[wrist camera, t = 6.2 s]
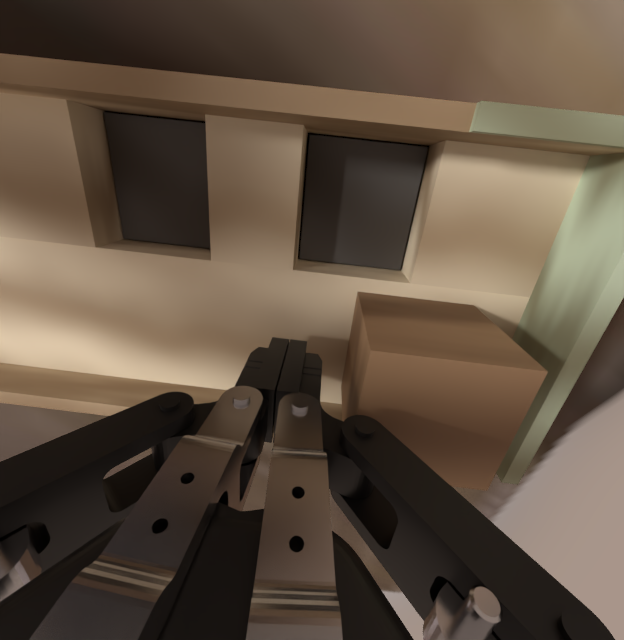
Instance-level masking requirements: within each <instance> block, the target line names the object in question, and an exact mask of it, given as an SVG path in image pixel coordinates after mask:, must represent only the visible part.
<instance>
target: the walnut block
mask: <svg viewBox="0 0 624 640" xmlns="http://www.w3.org/2000/svg"><path fill="white" fill-rule="evenodd" d="M547 373H548V371H547V370H546V369H545V368H543V367H542V366H541V365H540V364H539V363H538V362H537V361H536V360H534V359H533V358H532V357H531V356H530V355H529V354H528V353H527V352H526V351H524V350H523V349H522V348H521V347H520V346H519V345H518V344H517V343H515V342H514V341H513V340H512V339H511V338H510V337H509V336H508V335H507V334H505V333H504V332H503V331H502V330H501V329H500V328H499V327H498V326H497V325H495V324H494V323H493V322H492V321H491V320H490V319H489V318H488V317H486V316H485V315H484V314H483V313H482V312H481V311H480V310H479V309H478V308H476V307H475V306H474V305H468V304H459V303H451V302H442V301H434V300H426V299H417V298H409V297H400V296H392V295H383V294H375V293H366V292H357V298H356V303H355V309H354V315H353V321H352V326H351V332H350V338H349V343H348V349H347V355H346V360H345V366H344V372H343V378H342V383H341V396H342V421H344V420H345V419H347V418H348V417H350V416H353V415H365V416H369V417H371V418H373V419H375V420H377V421H378V422H380V423H381V424H382V425H383V426H384V427H385V428H386V429H387V430H389V431H390V432H391V433H392V434H393V435H394V436H395V437H396V438H398V439H399V440H400V441H401V442H402V443H403V444H404V445H405V446H407V447H408V448H409V449H410V450H411V451H412V452H413V453H414V454H416V455H417V456H418V457H419V458H420V459H421V460H422V461H423V462H424V463H426V464H427V465H428V466H429V467H430V468H431V469H432V470H433V471H435V472H436V473H437V474H438V475H439V476H440V477H441V478H442V479H444V480H445V481H446V482H447V483H448V484H449V485H450V486H454V487H462V488H470V489H478V490H486V491H487V490H488V488H489V486H490V484H491V482H492V480H493V478H494V476H495V474H496V472H497V470H498V468H499V466H500V464H501V462H502V460H503V459H504V457H505V455H506V453H507V451H508V449H509V447H510V445H511V443H512V441H513V439H514V437H515V435H516V433H517V431H518V429H519V427H520V425H521V424H522V422H523V420H524V418H525V416H526V414H527V412H528V410H529V408H530V406H531V404H532V402H533V400H534V398H535V396H536V394H537V392H538V390H539V389H540V387H541V385H542V383H543V381H544V379H545V377H546V375H547Z"/></svg>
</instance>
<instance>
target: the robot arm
mask: <svg viewBox="0 0 624 640" xmlns="http://www.w3.org/2000/svg"><path fill="white" fill-rule="evenodd" d="M306 348H307V341H302V340H293V339H290V343H289V339H285V338H276V337H272V339H271V342H270V344H269V347H268V348H264V347H258V348H256V349H255V350H254V351H252V352H251V353H250V355H249V357H248V359H247V361H246V364H245V366H244V368H243V370H242V372H241V374H240V376H239V378H238V380H237V382H236V384H235V387H232V388H230V389H228V390H226V391H225V392H224V393H223V394H222V395H221V397H220V398H219V400H218V401H215V402H210V403H202V404H194V400H193V398H192V397H191V396H190V395H189V394H187V393H184V392H167V393H164V394H161V395H158V396H156V397H154V398H151V399H149V400H146V401H144V402H142V403H139V404H137V405H135V406H132V407H130V408H127V409H125V410H123V411H120V412H118V413H116V414H113V415H111V416H108V417H106V418H104V419H101V420H99V421H96V422H94V423H92V424H89V425H87V426H85V427H82V428H80V429H77V430H75V431H73V432H70V433H68V434H66V435H63V436H61V437H58V438H56V439H54V440H51V441H49V442H47V443H44V444H42V445H39V446H37V447H35V448H32V449H30V450H28V451H25V452H23V453H20V454H18V455H16V456H13V457H11V458H9V459H6V460H4V461H1V462H0V640H413V638H412V636H411V635H410V633H409V632H408V630H407V629H406V628H405V626H404V624H403V623H402V621H401V620H400V618H399V617H398V615H397V614H396V612H395V611H394V609H393V608H392V606H391V604H390V603H389V601H388V600H387V598H386V597H385V595H384V594H383V592H382V591H381V589H380V588H379V586H378V585H377V583H376V582H375V580H374V579H373V577H372V576H371V574H370V572H369V571H368V569H367V568H366V566H365V565H364V563H363V562H362V560H361V559H360V558H359V556H358V555H357V553H356V552H355V551H354V550H353V549H352V548H351V546H350V545H349V544H348V543H347V542H345V541H344V540H343V539H342V538H341V537H340V536H338V535H337V534H336V533H334V532H333V531H332V523H331V508H330V494H329V489H330V490H331V495H332V497H333V499H334V501H335V502H336V503H337V505H338V506H339V507H340V509H341V510H342V511H343V513H344V514H345V516H346V517H347V518H348V520H349V521H350V522H351V524H352V525H353V526H354V528H355V529H356V530H357V532H358V533H359V534H360V536H361V537H362V538H363V540H364V541H365V542H366V544H367V545H368V546H369V548H370V549H371V550H372V552H373V553H374V555H375V556H376V557H377V559H378V560H379V561H380V563H381V564H382V565H383V567H384V568H385V569H386V571H387V572H388V573H389V575H390V576H391V577H392V579H393V580H394V581H395V583H396V584H397V585H398V587H399V588H400V589H401V591H402V592H403V594H404V595H405V596H406V598H407V599H408V600H409V602H410V603H411V604H412V606H413V607H414V608H415V610H416V611H417V612H418V614H419V615H420V616H421V618H422V619H423V620H424V625H423V640H615V639H614V638H613V636H612V634H611V633H610V632H609V630H608V629H607V628H606V626H605V625H604V624H603V623H602V622H601V621H600V619H599V618H598V617H597V616H596V615H595V614H594V613H592V611H591V610H589V609H588V608H587V607H586V606H585V605H584V604H583V603H582V602H580V601H579V600H578V599H577V598H576V597H575V596H574V595H573V594H572V593H570V592H569V591H568V590H567V589H566V588H565V587H564V586H562V585H561V584H560V583H559V582H558V581H557V580H556V579H555V578H554V577H552V576H551V575H550V574H549V573H548V572H547V571H546V570H545V569H543V568H542V567H541V566H540V565H539V564H538V563H537V562H536V561H534V560H533V559H532V558H531V557H530V556H529V555H528V554H527V553H525V552H524V551H523V550H522V549H521V548H520V547H519V546H518V545H517V544H515V543H514V542H513V541H512V540H511V539H510V538H509V537H508V536H506V535H505V534H504V533H503V532H502V531H501V530H500V529H498V528H497V527H496V526H495V525H494V524H493V523H492V522H491V521H490V520H488V519H487V518H486V517H485V516H484V515H483V514H482V513H481V512H479V511H478V510H477V509H476V508H475V507H474V506H473V505H472V504H471V503H469V502H468V501H467V500H466V499H465V498H464V497H463V496H462V495H460V494H459V493H458V492H457V491H456V490H455V489H454V488H453V487H451V486H450V485H449V484H448V483H447V482H446V481H445V480H444V479H442V478H441V477H440V476H439V475H438V474H437V473H436V472H435V471H433V470H432V469H431V468H430V467H429V466H428V465H427V464H426V463H424V462H423V461H422V460H421V459H420V458H419V457H418V456H417V455H416V454H414V453H413V452H412V451H411V450H410V449H409V448H408V447H407V446H405V445H404V444H403V443H402V442H401V441H400V440H399V439H398V438H396V437H395V436H394V435H393V434H392V433H391V432H390V431H389V430H387V429H386V428H385V427H384V426H383V425H382V424H381V423H380V422H378V421H377V420H375V419H373V418H371V417H369V416H365V415H353V416H350V417H348V418H347V419H345V420H344V421H341V420H339V419H336V418H334V417H332V416H330V415H329V414H327V413H326V412H325V411H324V409H323V408H322V406H321V404H320V393H321V376H322V360H321V358H320V357H319V355H318V354H314V353H306ZM273 434H274V438H273ZM272 438H273V443H274V446H273V449H272V454H271V461H270V469H269V476H268V484H267V491H266V499H265V506H264V509H260V510H252V511H242V510H243V507H244V504H245V501H246V498H247V496H248V493H249V490H250V487H251V484H252V481H253V479H254V476H255V473H256V470H257V467H258V465H259V462H260V454H261V452H262V448H263V445H264V442H272ZM149 448H152V454H150V455H149V456H147V457H145V458H143V459H141V460H139V461H138V462H136V463H134V464H132V465H130V466H128V467H127V468H125V469H123V470H121V471H119V472H117V473H116V474H114V475H112V476H110V477H108V478H106V479H103V478H104V476H105V475H106V473H107V472H108V471H110V470H111V469H112V468H114V467H115V466H117V465H119V464H121V463H123V462H125V461H126V460H128V459H130V458H132V457H134V456H136V455H138V454H140V453H142V452H143V451H145V450H147V449H149Z"/></svg>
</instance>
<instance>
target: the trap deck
mask: <svg viewBox="0 0 624 640" xmlns="http://www.w3.org/2000/svg"><path fill="white" fill-rule="evenodd" d="M104 111H110V112H119V113H129V114H138V115H147V116H156V117H166V118H175V119H184V120H194V121H203V122H205V123H198V122H189V121H180V120H170V119H161V118H152V117H142V116H133V115H124V114H114V113H105V112H104ZM308 133H315V134H324V135H333V136H343V137H352V138H361V139H370V140H380V141H389V142H398V143H408V144H417V145H426V146H429V151H428V155H427V160H426V164H425V168H424V173H423V177H422V181H421V176H422V172H423V167H424V163H425V159H426V154H427V150H428V147H421V146H412V145H403V144H393V143H384V142H375V141H366V140H356V139H347V138H338V137H328V136H319V135H310V138H309V150H308V162H307V174H306V186H305V198H304V210H303V222H302V234H301V246H300V258H299V259H298V249H299V237H300V224H301V212H302V199H303V187H304V174H305V162H306V150H307V137H308ZM420 181H421V186H420V190H419V195H418V199H417V203H416V198H417V194H418V189H419V185H420ZM415 203H416V208H415V212H414V216H413V211H414V207H415ZM412 216H413V221H412V225H411V220H412ZM410 225H411V230H410V234H409V229H410ZM408 234H409V238H408ZM407 238H408V243H407V247H406V242H407ZM128 239H132V240H128ZM136 240H141V241H136ZM145 241H150V242H145ZM154 242H159V243H154ZM163 243H167V244H163ZM171 244H176V245H171ZM180 245H185V246H180ZM189 246H194V247H189ZM198 247H202V248H198ZM405 247H406V252H405V256H404V251H405ZM207 248H211V249H207ZM403 256H404V260H403ZM303 259H308V260H303ZM312 260H316V261H312ZM402 260H403V265H402V269H401V264H402ZM321 261H325V262H321ZM329 262H334V263H329ZM338 263H343V264H338ZM347 264H352V265H347ZM356 265H360V266H356ZM364 266H369V267H364ZM373 267H378V268H373ZM382 268H387V269H382ZM391 269H395V270H391ZM400 269H401V271H400ZM357 292H366V293H375V294H383V295H392V296H400V297H409V298H417V299H426V300H434V301H442V302H451V303H459V304H468V305H474V306H475V307H476V308H478V309H479V310H480V311H481V312H482V313H483V314H484V315H485V316H486V317H488V318H489V319H490V320H491V321H492V322H493V323H494V324H495V325H497V326H498V327H499V328H500V329H501V330H502V331H503V332H504V333H505V334H507V335H508V336H509V337H510V338H511V339H512V340H513V341H514V342H515V343H517V344H518V345H519V346H520V347H521V348H522V349H523V350H524V351H526V352H527V353H528V354H529V355H530V356H531V357H532V358H533V359H534V360H536V361H537V362H538V363H539V364H540V365H541V366H542V367H543V368H545V369H546V370H547V371H548V373H547V375H546V377H545V379H544V381H543V383H542V385H541V387H540V389H539V390H538V392H537V394H536V396H535V398H534V400H533V402H532V404H531V406H530V408H529V410H528V412H527V414H526V416H525V418H524V420H523V422H522V424H521V425H520V427H519V429H518V431H517V433H516V435H515V437H514V439H513V441H512V443H511V445H510V447H509V449H508V451H507V453H506V455H505V457H504V459H503V460H502V462H501V464H500V466H499V468H498V470H497V472H496V473H497V475H498V477H499V479H500V480H501V482H502V483H510V484H518V483H519V482H520V480H521V478H522V476H523V475H524V473H525V471H526V469H527V468H528V466H529V464H530V462H531V460H532V459H533V457H534V455H535V453H536V452H537V450H538V448H539V446H540V445H541V443H542V441H543V439H544V437H545V436H546V434H547V432H548V430H549V429H550V427H551V425H552V423H553V422H554V420H555V418H556V416H557V414H558V413H559V411H560V409H561V407H562V406H563V404H564V402H565V400H566V399H567V397H568V395H569V393H570V391H571V390H572V388H573V386H574V384H575V383H576V381H577V379H578V377H579V376H580V374H581V372H582V370H583V369H584V367H585V365H586V363H587V361H588V360H589V358H590V356H591V354H592V353H593V351H594V349H595V347H596V346H597V344H598V342H599V340H600V338H601V337H602V335H603V333H604V331H605V330H606V328H607V326H608V324H609V323H610V321H611V319H612V317H613V315H614V314H615V312H616V310H617V308H618V307H619V305H620V303H621V301H622V300H623V298H624V116H621V115H612V114H602V113H593V112H583V111H574V110H564V109H555V108H545V107H535V106H526V105H516V104H507V103H497V102H488V101H480V102H478V103H469V102H460V101H450V100H440V99H431V98H421V97H412V96H402V95H393V94H383V93H374V92H364V91H355V90H345V89H336V88H326V87H317V86H307V85H298V84H288V83H279V82H269V81H260V80H250V79H241V78H231V77H222V76H212V75H203V74H193V73H183V72H174V71H164V70H155V69H145V68H136V67H126V66H117V65H107V64H98V63H88V62H79V61H69V60H60V59H50V58H41V57H31V56H22V55H12V54H3V53H0V403H8V404H16V405H24V406H32V407H40V408H49V409H57V410H65V411H73V412H81V413H89V414H97V415H105V416H111V415H113V414H116V413H118V412H120V411H123V410H125V409H127V408H130V407H132V406H135V405H137V404H139V403H142V402H144V401H146V400H149V399H151V398H154V397H156V396H158V395H161V394H164V393H167V392H184V393H187V394H189V395H190V396H191V397H192V398H193V400H194V404H202V403H210V402H215V401H218V400H219V398H220V397H221V395H222V394H223V393H224V392H225V391H226V390H228V389H230V388H232V387H235V384H236V382H237V380H238V378H239V376H240V374H241V372H242V370H243V368H244V366H245V364H246V361H247V359H248V357H249V355H250V353H251V352H252V351H254V350H255V349H256V348H258V347H264V348H268V347H269V344H270V342H271V339H272V337H276V338H285V339H289V343H290V339H293V340H302V341H307V348H306V353H314V354H318V355H319V357H320V358H321V360H322V376H321V393H320V404H321V406H322V408H323V409H324V411H325V412H326V413H327V414H329V415H330V416H332V417H334V418H336V419H339V420H341V421H342V396H341V383H342V378H343V372H344V366H345V360H346V355H347V349H348V343H349V338H350V332H351V326H352V321H353V315H354V309H355V303H356V298H357ZM273 436H274V434H273Z"/></svg>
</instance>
